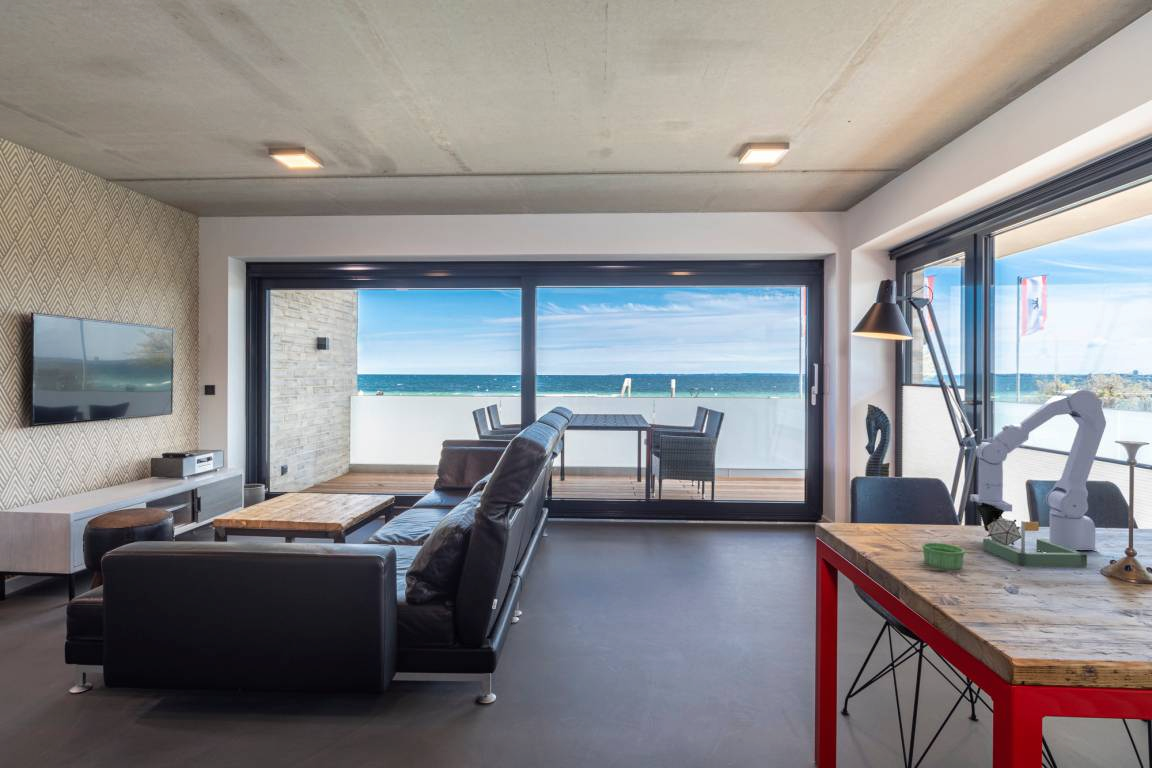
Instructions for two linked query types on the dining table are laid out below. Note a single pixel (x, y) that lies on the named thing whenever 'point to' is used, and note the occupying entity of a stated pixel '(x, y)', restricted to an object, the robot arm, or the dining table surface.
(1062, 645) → the dining table surface
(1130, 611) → the dining table surface
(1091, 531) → the robot arm
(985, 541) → the green tray
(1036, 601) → the dining table surface
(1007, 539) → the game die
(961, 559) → the ramekin
